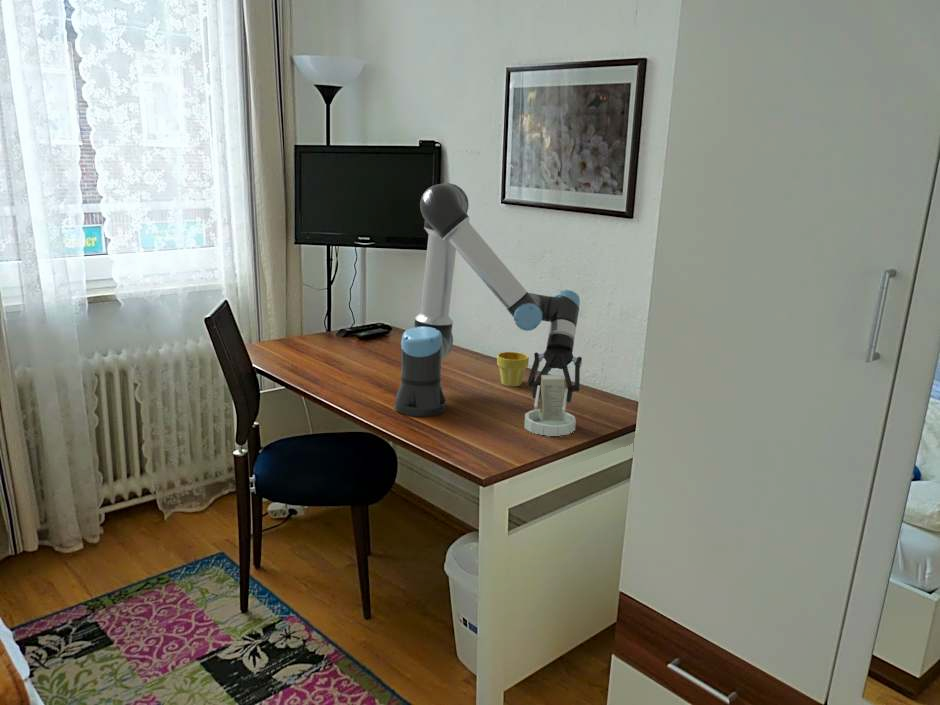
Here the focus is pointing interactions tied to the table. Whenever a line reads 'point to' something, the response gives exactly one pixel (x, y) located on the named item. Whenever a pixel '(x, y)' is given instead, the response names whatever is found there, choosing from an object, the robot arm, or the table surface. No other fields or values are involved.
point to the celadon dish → (549, 424)
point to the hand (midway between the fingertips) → (549, 409)
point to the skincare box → (551, 397)
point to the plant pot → (512, 367)
